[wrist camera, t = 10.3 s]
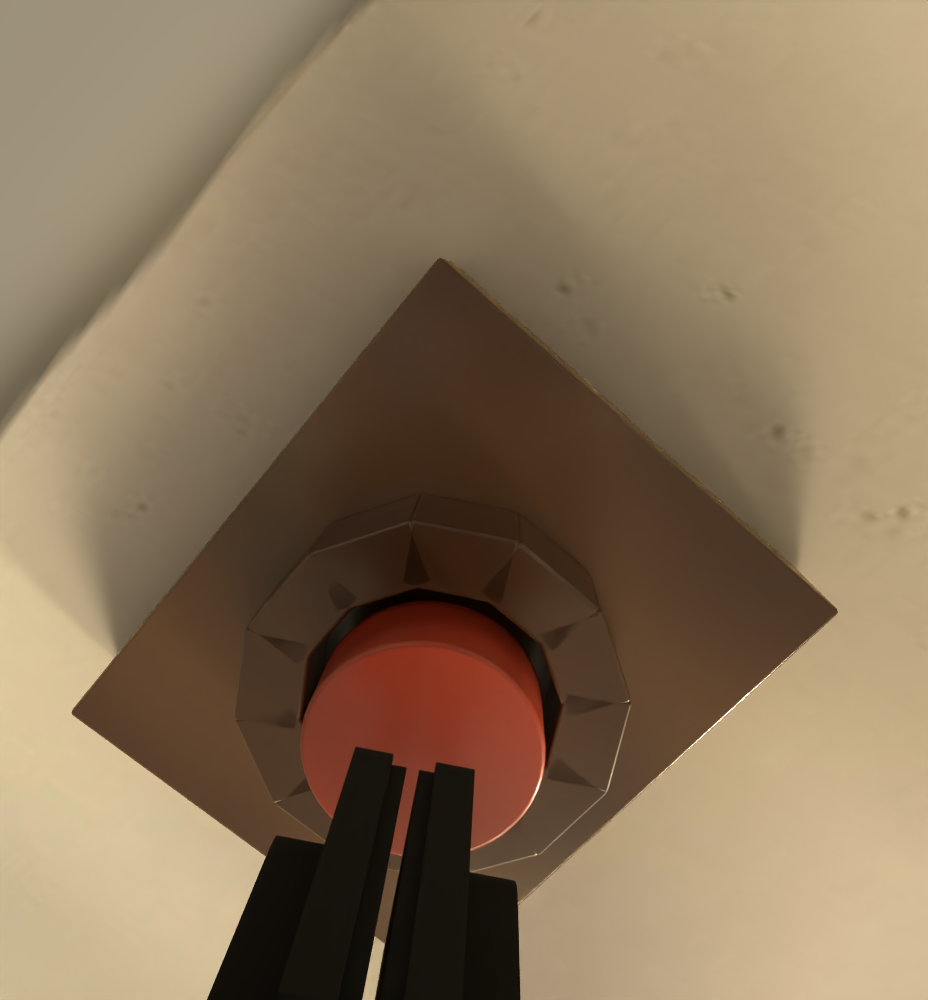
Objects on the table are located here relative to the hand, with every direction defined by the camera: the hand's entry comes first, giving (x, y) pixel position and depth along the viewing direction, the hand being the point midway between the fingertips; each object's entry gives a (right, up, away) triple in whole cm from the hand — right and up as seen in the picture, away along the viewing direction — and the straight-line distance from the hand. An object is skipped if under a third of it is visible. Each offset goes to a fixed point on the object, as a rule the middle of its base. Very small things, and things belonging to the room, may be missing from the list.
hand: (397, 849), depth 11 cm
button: (0, +1, +4) cm, 4 cm away
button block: (0, +2, +7) cm, 8 cm away
